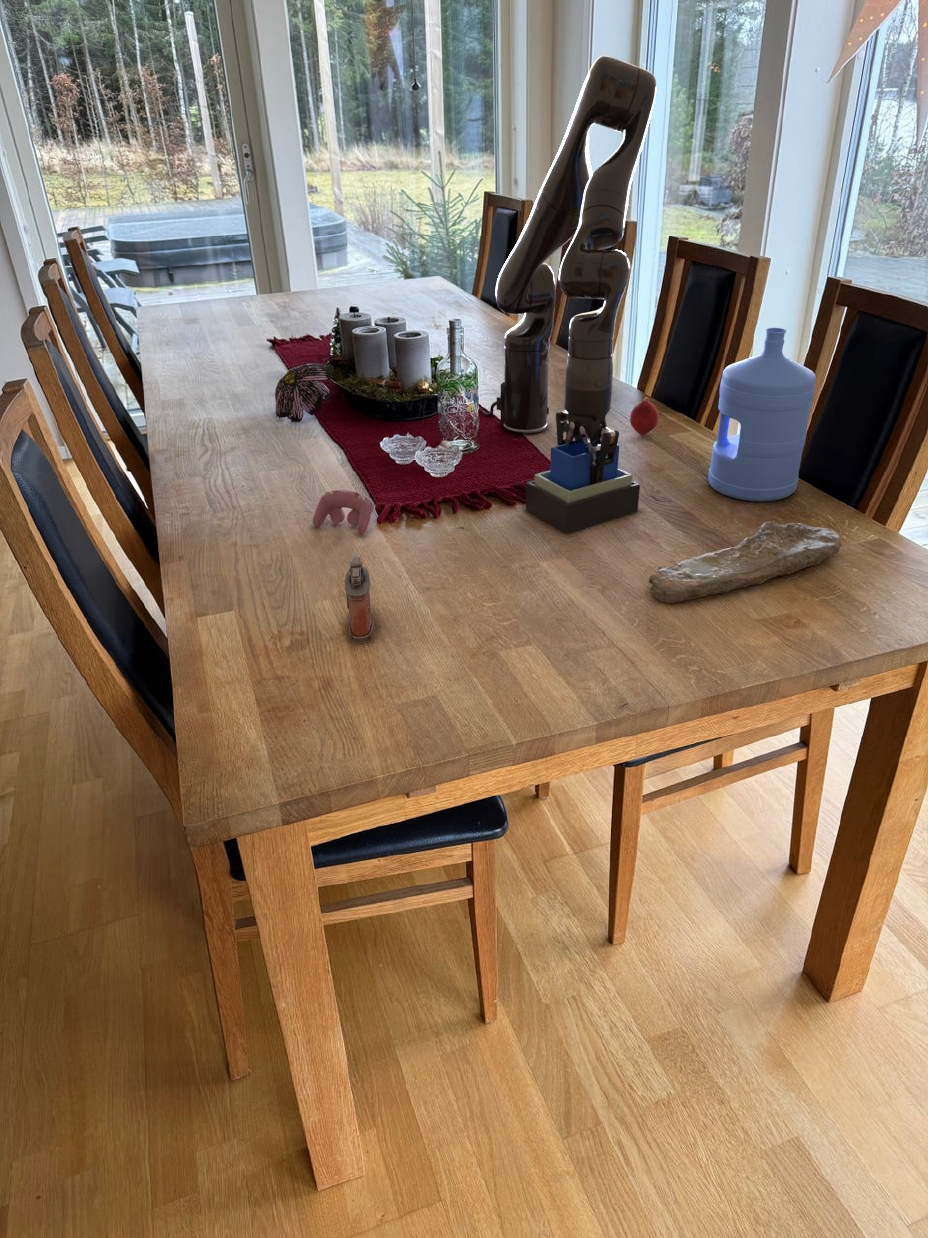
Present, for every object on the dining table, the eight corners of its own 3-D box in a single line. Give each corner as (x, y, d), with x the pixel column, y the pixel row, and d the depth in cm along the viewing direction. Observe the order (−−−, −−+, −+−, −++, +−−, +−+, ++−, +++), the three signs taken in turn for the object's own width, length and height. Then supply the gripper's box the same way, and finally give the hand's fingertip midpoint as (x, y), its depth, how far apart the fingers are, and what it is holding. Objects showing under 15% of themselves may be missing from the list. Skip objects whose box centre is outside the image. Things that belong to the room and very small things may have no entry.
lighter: (350, 613, 128) (343, 550, 123) (373, 611, 128) (368, 549, 123) (348, 643, 121) (341, 578, 116) (373, 642, 121) (368, 577, 116)
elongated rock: (631, 591, 134) (672, 625, 127) (633, 561, 131) (675, 594, 124) (807, 531, 146) (855, 558, 139) (813, 502, 143) (862, 529, 136)
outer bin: (566, 534, 148) (567, 505, 146) (525, 510, 157) (526, 482, 154) (637, 511, 155) (640, 484, 153) (595, 489, 164) (596, 463, 161)
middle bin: (567, 527, 149) (569, 492, 146) (533, 507, 156) (534, 474, 153) (629, 508, 155) (632, 474, 152) (594, 489, 162) (596, 457, 159)
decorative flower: (252, 368, 201) (312, 341, 203) (269, 408, 210) (327, 382, 212) (272, 403, 192) (335, 374, 194) (289, 443, 201) (349, 415, 203)
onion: (656, 440, 185) (660, 402, 181) (628, 439, 186) (631, 401, 182) (656, 431, 190) (660, 393, 185) (629, 429, 191) (632, 392, 186)
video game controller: (373, 535, 153) (378, 494, 152) (362, 534, 148) (367, 492, 148) (321, 527, 156) (326, 487, 155) (309, 527, 151) (314, 485, 150)
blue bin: (570, 497, 149) (572, 457, 145) (549, 486, 153) (550, 447, 150) (616, 483, 154) (619, 445, 150) (595, 473, 158) (597, 435, 154)
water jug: (801, 476, 167) (830, 323, 152) (789, 509, 155) (819, 345, 140) (716, 465, 173) (737, 315, 158) (699, 495, 161) (719, 336, 146)
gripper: (636, 388, 141) (628, 488, 149) (579, 367, 151) (574, 462, 160) (599, 397, 137) (593, 498, 146) (543, 375, 148) (540, 471, 157)
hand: (583, 479), depth 153 cm, fingers closed on blue bin, 5 cm apart
